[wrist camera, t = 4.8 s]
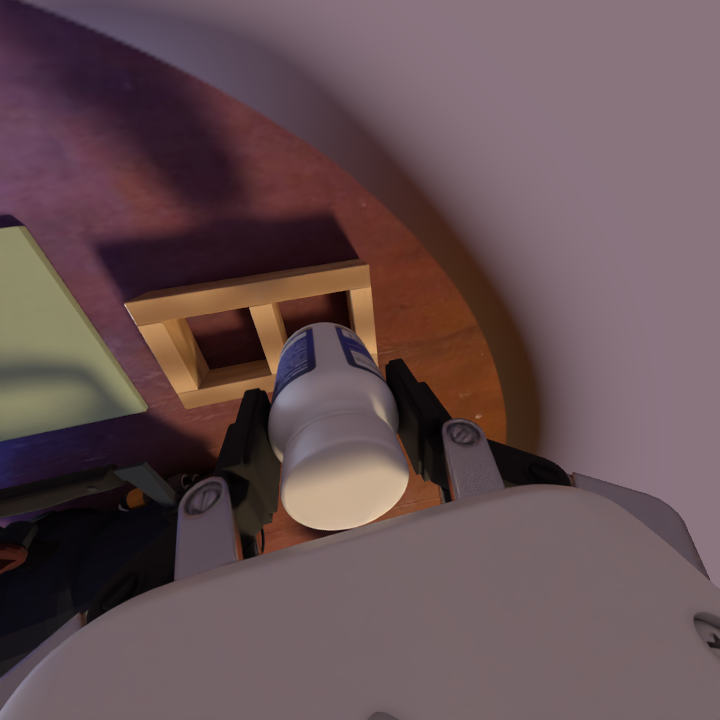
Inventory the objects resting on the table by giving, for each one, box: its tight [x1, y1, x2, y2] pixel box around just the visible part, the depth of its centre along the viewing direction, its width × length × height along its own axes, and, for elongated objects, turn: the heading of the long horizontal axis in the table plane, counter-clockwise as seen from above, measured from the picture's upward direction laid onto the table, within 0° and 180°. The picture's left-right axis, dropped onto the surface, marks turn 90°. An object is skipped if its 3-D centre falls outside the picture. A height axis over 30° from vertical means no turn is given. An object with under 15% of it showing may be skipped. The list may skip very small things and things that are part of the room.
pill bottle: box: [268, 322, 409, 530], centre depth 12 cm, size 5×5×9 cm
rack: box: [124, 259, 378, 409], centre depth 21 cm, size 9×16×3 cm, turn 97°
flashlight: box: [0, 461, 265, 678], centre depth 22 cm, size 15×21×20 cm
